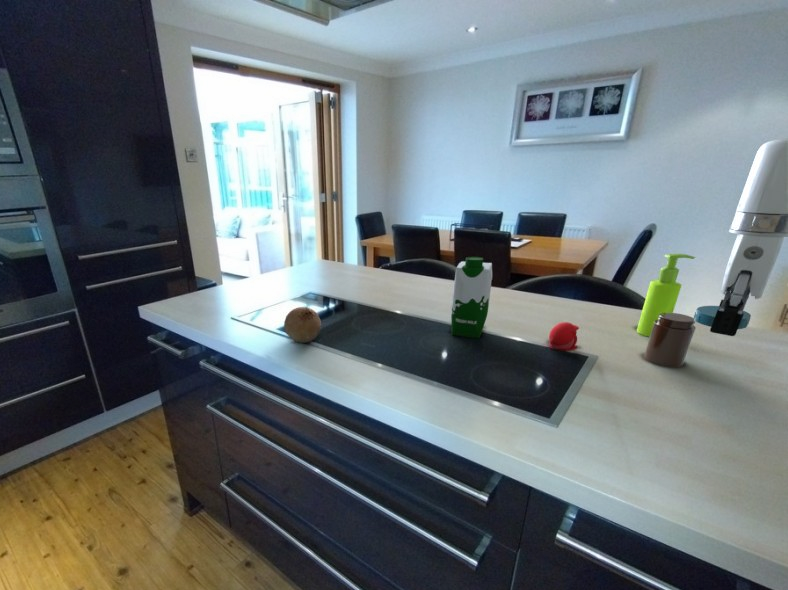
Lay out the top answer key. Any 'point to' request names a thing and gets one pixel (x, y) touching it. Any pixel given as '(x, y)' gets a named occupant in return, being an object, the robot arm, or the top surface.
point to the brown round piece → (302, 324)
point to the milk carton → (471, 297)
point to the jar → (670, 339)
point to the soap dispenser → (661, 295)
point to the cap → (563, 337)
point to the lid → (708, 313)
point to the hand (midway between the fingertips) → (724, 327)
